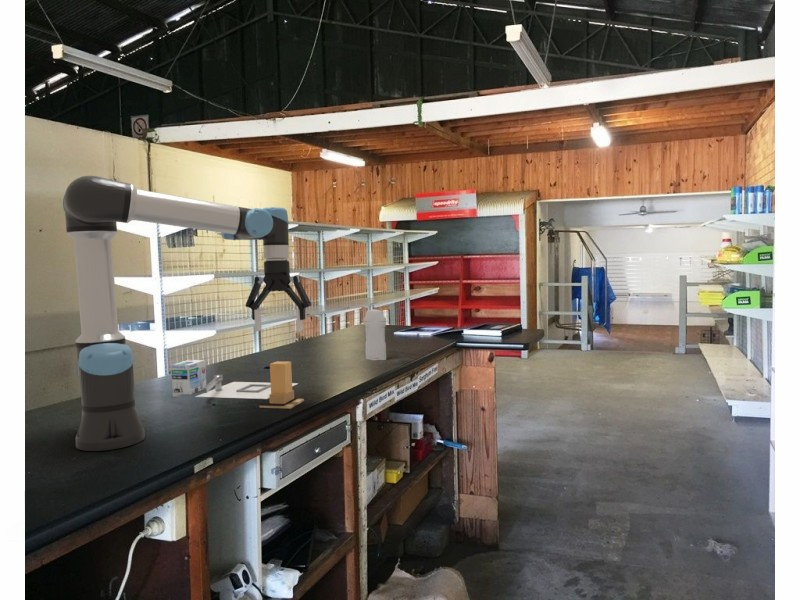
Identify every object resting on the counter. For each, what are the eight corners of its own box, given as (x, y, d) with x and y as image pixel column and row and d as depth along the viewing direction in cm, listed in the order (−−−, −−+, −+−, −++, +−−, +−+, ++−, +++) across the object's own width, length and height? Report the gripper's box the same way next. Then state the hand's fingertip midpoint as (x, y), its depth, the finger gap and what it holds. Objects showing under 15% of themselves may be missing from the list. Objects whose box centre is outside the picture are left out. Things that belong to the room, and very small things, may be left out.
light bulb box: (190, 397, 195) (189, 364, 194) (171, 397, 196) (170, 364, 195) (207, 390, 205) (206, 359, 204) (189, 390, 206) (188, 359, 206)
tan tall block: (284, 405, 178) (282, 364, 177) (269, 404, 179) (268, 364, 178) (294, 399, 184) (292, 360, 184) (279, 399, 186) (278, 360, 185)
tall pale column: (389, 359, 262) (387, 309, 260) (385, 360, 258) (383, 309, 256) (367, 358, 266) (365, 308, 264) (363, 360, 262) (361, 309, 261)
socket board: (267, 402, 185) (266, 388, 185) (195, 399, 191) (194, 387, 191) (298, 386, 208) (298, 374, 208) (233, 384, 214) (233, 373, 214)
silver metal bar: (199, 393, 179) (199, 388, 179) (214, 379, 201) (214, 375, 201) (210, 393, 180) (209, 387, 179) (223, 379, 201) (223, 374, 201)
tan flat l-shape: (290, 408, 175) (290, 406, 175) (259, 407, 178) (259, 405, 178) (304, 400, 185) (304, 398, 185) (274, 399, 188) (274, 397, 188)
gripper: (320, 259, 180) (322, 329, 181) (244, 261, 186) (247, 329, 187) (310, 258, 172) (313, 332, 174) (232, 260, 178) (235, 332, 180)
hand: (279, 331), depth 180 cm, fingers open, 13 cm apart
